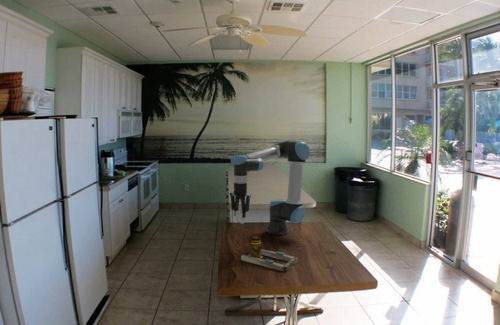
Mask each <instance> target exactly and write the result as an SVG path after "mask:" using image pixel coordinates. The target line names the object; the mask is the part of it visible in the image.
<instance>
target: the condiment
mask: <svg viewBox="0 0 500 325" xmlns="http://www.w3.org/2000/svg"><path fill="white" fill-rule="evenodd" d="M249 247H250V249H249V251H250V253H249V254H248V255H247V256H251V257H254V258H258V259H262V258H263V257H264V256H265V255H261V249H262V242H261V237H260V236H258V235H253V236H251V238H250V246H249Z"/></svg>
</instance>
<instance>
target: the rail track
mask: <svg viewBox="0 0 500 325" xmlns="http://www.w3.org/2000/svg"><path fill="white" fill-rule="evenodd" d="M261 256H265V257H269V258H273V259H277V260H281V261H285V262H287V263H285V264H281V263H278V262H275V261H274V260H271V259H267V258H266V259H262V258H261V259H258V258H254V257H251V256H248V255H246V254H241V256H240V260H241V261H243V262H246V263H251V264H255V265H258V266H262V267H266V268H268V269H273V270H277V271H280V272H284V273H286V272H288V271H289V270H290V269H291V268H292V267H293V266H294V265H295V264H297V262H298V257H297V256H293V255H287V254H285V252H282V251H278V250H277V251H272V250H267V249H264V248H261Z"/></svg>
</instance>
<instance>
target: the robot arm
mask: <svg viewBox="0 0 500 325" xmlns="http://www.w3.org/2000/svg"><path fill="white" fill-rule="evenodd" d="M310 153H311V151H310V147H309V145H308V144H307V143H306V142H303V141H295V140H293V141H292V140H291V141H289V140H285V141H281V142H278V143H275V144H272V145H270V147H266V148H264V149H263V148H262V149H260V150H256V151H253V152H250V153H247V154H244V155H241V154H238V155H235V156H232V157H231V159H230V165H231V167H232V168H233V182H234V183H233V191H232V192H229V195H230V206H231V210H233V211H234V217H235V219H234V220H235V224H237V223H238V222H239V223H240V224H241V225H242V224H243V225H244V224H245V218H247V217H246V213H247V212H250V211H249V210H250V201H251V197H252V195H251V194H249V193H248V192H247V190H248V183H247V182H248V173H249V172H257V171H258V172H259V171H261V170H263V168H264V166H265V165H264V164H265V163H264V162H266V161H269V160H271V159H280V158H281V159H282V158H283V159H287V162H288V164H289V172H288V174H289V176H288V186H287V199H282V198H281V199H280V198H279V199H273V200H271V201H270V202H269V222H268V224H267V227H266V233H268V234H270V235H273V236H284V235H287V234H288V233H289V227H288V224H287V222H291V223H293V224H299V223H301V222H302V221H303V220H304V218H305V217H306V213H307V212H306V209H305V207H304V206H303V201H302V199H301V198H302V197H301V195H302V194H301V193H302V184H303V183H302V181H303V166H304V164H305V163H306V160H309V157H310V155H311V154H310ZM240 203H241V212H240V210H239V206H240Z"/></svg>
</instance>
